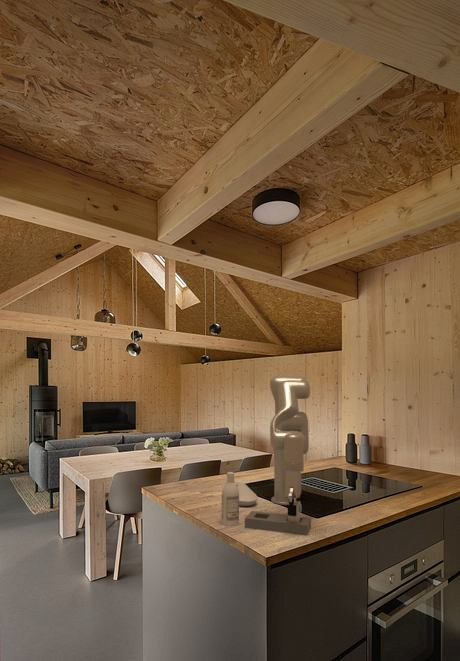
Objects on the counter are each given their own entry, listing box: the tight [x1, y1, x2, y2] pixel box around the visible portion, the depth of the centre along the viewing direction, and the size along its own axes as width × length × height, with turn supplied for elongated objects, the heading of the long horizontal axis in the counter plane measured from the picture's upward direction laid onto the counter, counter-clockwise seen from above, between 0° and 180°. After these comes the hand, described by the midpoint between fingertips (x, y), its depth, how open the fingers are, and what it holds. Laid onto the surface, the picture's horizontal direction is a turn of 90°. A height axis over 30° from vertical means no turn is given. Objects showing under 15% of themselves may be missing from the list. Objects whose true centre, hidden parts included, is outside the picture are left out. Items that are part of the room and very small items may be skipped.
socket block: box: [244, 510, 312, 536], centre depth 161 cm, size 10×24×4 cm, turn 71°
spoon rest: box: [236, 482, 258, 507], centre depth 199 cm, size 24×12×7 cm, turn 9°
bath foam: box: [221, 471, 240, 527], centre depth 166 cm, size 7×7×20 cm
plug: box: [288, 501, 303, 523], centre depth 160 cm, size 4×5×10 cm
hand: (294, 512), depth 160 cm, fingers open, 9 cm apart
